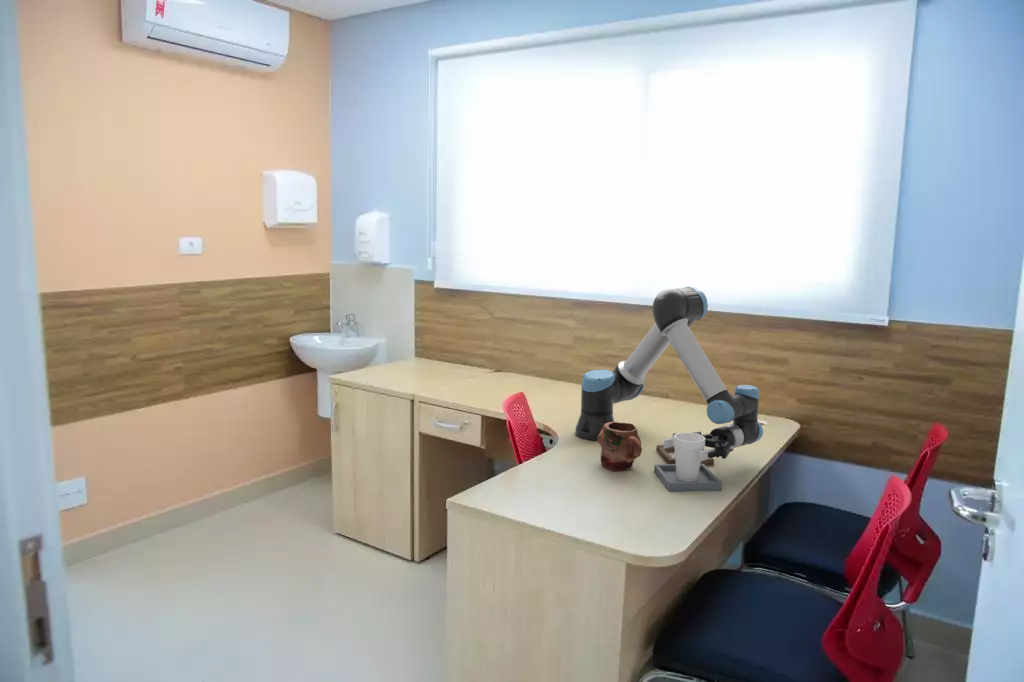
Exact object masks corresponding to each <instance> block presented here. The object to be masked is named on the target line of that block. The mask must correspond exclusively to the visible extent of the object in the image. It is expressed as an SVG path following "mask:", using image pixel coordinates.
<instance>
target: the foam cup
mask: <svg viewBox="0 0 1024 682" xmlns="http://www.w3.org/2000/svg"><path fill="white" fill-rule="evenodd" d="M675 433H676V434H675V435H674V439H673V444H674V450H675V452H674V458H675V463H676V476H677V478H678V479H679V480H682V481H696V480H697V478H698V474H699V469H700V464H701V461H698V459H699V452H700V451H703V450H705V447H706V446H705V437H704V436H702V435H703V434H701V435H699V434H696V433H695V432H683V431H682V432H675Z"/></svg>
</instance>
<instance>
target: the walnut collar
mask: <svg viewBox="0 0 1024 682" xmlns="http://www.w3.org/2000/svg"><path fill="white" fill-rule="evenodd" d="M663 445H664V444H656V446H655V447H656V450H655V451H656V452H657V453H658V455H659V456H660V457H661V458H662V459H663V460H664V461H665V464H676V463H675V457H672V456H671V455H670V454H669V453H675V450H674V447H670V448H666V449H665V448H663ZM704 450H705V449H704ZM704 450H703V451H704ZM701 464H704V465H705V466H714V465H715V458H714V457H713V458H710V459H706V460H703V461H701Z"/></svg>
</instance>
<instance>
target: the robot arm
mask: <svg viewBox="0 0 1024 682" xmlns="http://www.w3.org/2000/svg"><path fill="white" fill-rule="evenodd" d="M708 307H709V305H708V298H707V296H706V294H705V293H704V291H702V290H701V289H700V288H697V287H694V286H693V287H692V286H684V287H678V288H677V287H675V288H668V289H665V290H662V291H661V292H659V293H658V294H656V296H655V298H654V300H653V303H652V308H651V309H652V316H653V320H654V322H655V323H654V324H653V325H652V326H651V328H650V329H649V330H648V332H647V333H646V335H644V337H643V338H642V340H641V341H640V342H639V344H638V345H637V346H636V347H635V349H634V350H633V351H632V353H631V354H630V355H629V356H628V358H627V359H626V360H622V361H620V362H619V363H618V364H617V365H616V366H615V368H614V369H613V370H608V369H593V370H589V371H587V372H585V373H584V374H583V376H582V380H581V384H580V385H581V400H580V402H581V403H580V404H581V405H580V414H579V417H578V420H577V423H576V426H575V435H576V436H577V437H579V438H581V439H585V440H589V441H598V440H597V437H598V435H599V434H600V432H601V430H602V428H603V426H604V424H605V423H609V422H615V418H614V405H615V404H619V403H621V402H626V401H631V400H634V399H635V398H637V397H639V396H640V395H641V394H642V392H643V391H644V388H645V385H644V383H645V382H646V374H647V373H648V372H649V371H650V369H651V368H652V367H653V366H654V364H655V363H656V362H657V360H658V359H659V358H660V357H661V355H662V354H663V353H664V352H665V350H666V349H667V348H668V347H669V346H670V344H671V345H672V347H673V349H674V351H675V352H676V354H677V355H678V357H679V359H680V361H681V362H682V364H683V365H684V367H685V369H686V370H687V372H688V374H689V375H690V377H691V378H692V381H693V382H694V384H695V385H696V387H697V389H698V390H699V392H700V394H701V395H702V397H703V398H704V400H705V401H706V402H705V403H707V406H706V415H707V418H708V419H709V420H710V421H711V423H713V424H715V425H723V426H720V427H716V428H713V429H712V430H711V431H710V432H709V433H706V434H702V432H701V431H696V432H695V431H694V433H696V434H699V435H702V436H704V437H705V447H707V449H704V451H700V452H699V459H698V461H703V460H706V459H710V458H713V459H714V458H720V457H721V459H723V460H725V459H727V457H728V456H729V455H730V453H731V452H733V451H734V449H736V448H740V447H743V446H746V445H751V444H754V443H756V442H758V441H759V440H762V437H763V434H764V428H763V426H762V424H761V423H760V422H759V421H758V415H759V406H760V405H759V404H760V403H759V402H760V390H759V388H758V386H757V387H756V386H754V385H750V384H749V385H748V384H739V385H736V387H735V390H734V394H733V395H731V394H730V392H729V390H728V388H726V386H725V384H724V383H723V381H722V379H721V377H720V375H719V374H718V373H717V370H716V369H715V368H714V366H713V364H712V363H711V361H710V360H709V358H708V356H707V354H706V352H704V350H703V348H702V346H701V345H700V343H699V341H698V340H697V339H696V336H695V335H694V334H693V332H692V330H691V328H690V327H691V326H692V325H693V323H694V322H696V321H699V320H701V319H702V318H704V317H705V316H706V314H707V312H708ZM731 422H733V423H731ZM728 423H731V424H728ZM724 424H727V425H724ZM676 433H677V432H675V433H672V437H669V438H666V439H663V444H662V445H663V448H665V449H666V448H670V447H674V444H673V439H674V435H675V434H676ZM708 448H709V449H708Z"/></svg>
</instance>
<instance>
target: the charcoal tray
mask: <svg viewBox="0 0 1024 682" xmlns="http://www.w3.org/2000/svg"><path fill="white" fill-rule="evenodd" d="M653 469H654V470H653V473H654V474H655V475H656V477H657V479H659V480H660V481H661V484H662V485H663V486H664V488H666V489H667V491H668V492H711V491H712V492H713V491H714V492H716V491H717V492H718V491H719V492H720V491H722V489H723V488H722V486H723V482H722V481H721V480H720V478H718V477H717V476H716V475H715V474H714V473H713V472H712V471H711V470H710V469H709V467H707V465H704V464H700V469H699V474H698V478H697V480H696V481H682V480H679V479H678V478H677V476H676V464H668V463H665V464H660V463H659V464H655V463H654V467H653Z"/></svg>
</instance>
